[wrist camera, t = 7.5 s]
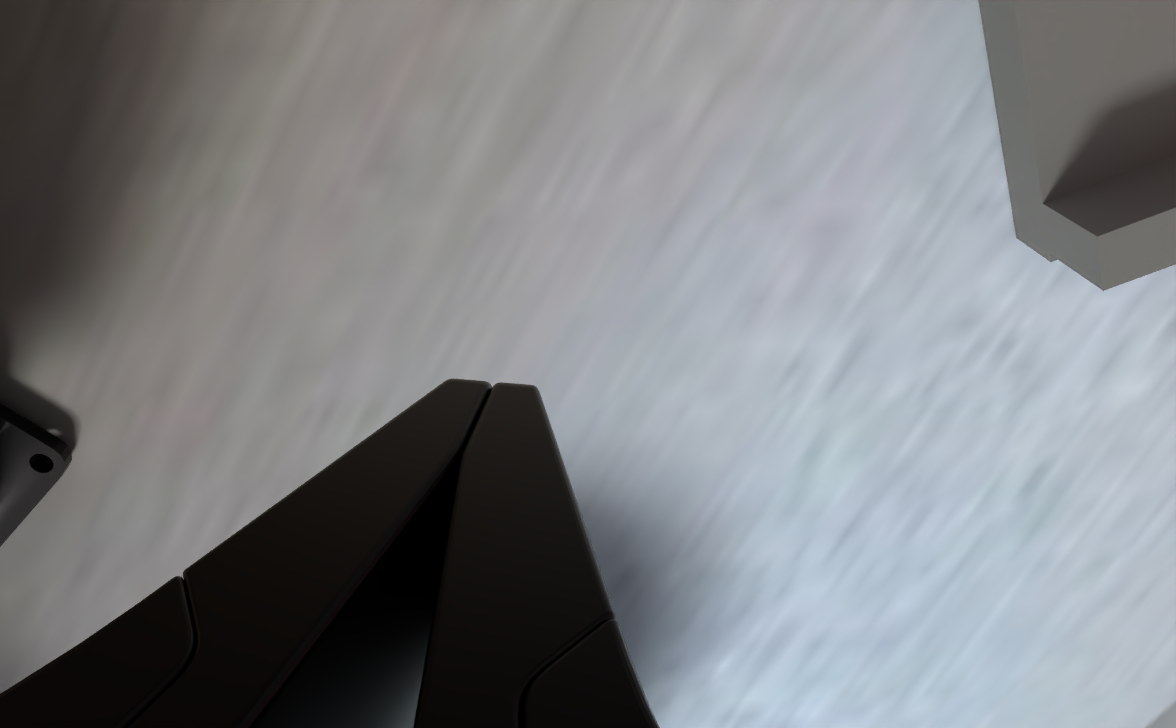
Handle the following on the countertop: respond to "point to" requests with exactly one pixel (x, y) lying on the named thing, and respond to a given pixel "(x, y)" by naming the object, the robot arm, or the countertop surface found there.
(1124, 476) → the countertop surface
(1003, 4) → the grey slotted holder tray
